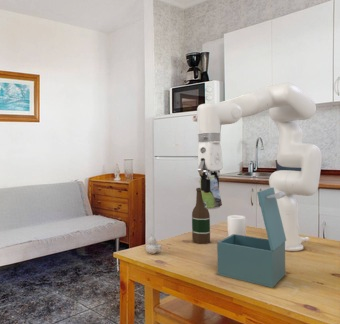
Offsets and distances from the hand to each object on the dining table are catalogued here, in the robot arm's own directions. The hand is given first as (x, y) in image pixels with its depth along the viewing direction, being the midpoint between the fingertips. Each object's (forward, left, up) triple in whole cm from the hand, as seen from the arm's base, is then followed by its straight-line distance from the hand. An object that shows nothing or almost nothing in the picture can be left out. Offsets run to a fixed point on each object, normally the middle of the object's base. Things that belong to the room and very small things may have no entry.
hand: (210, 189), depth 120 cm
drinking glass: (-15, -7, -27) cm, 32 cm away
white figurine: (+15, -17, -27) cm, 36 cm away
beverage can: (0, 0, -7) cm, 7 cm away
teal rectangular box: (-8, +12, -27) cm, 31 cm away
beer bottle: (-11, -28, -27) cm, 41 cm away
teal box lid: (-11, +17, -7) cm, 21 cm away
